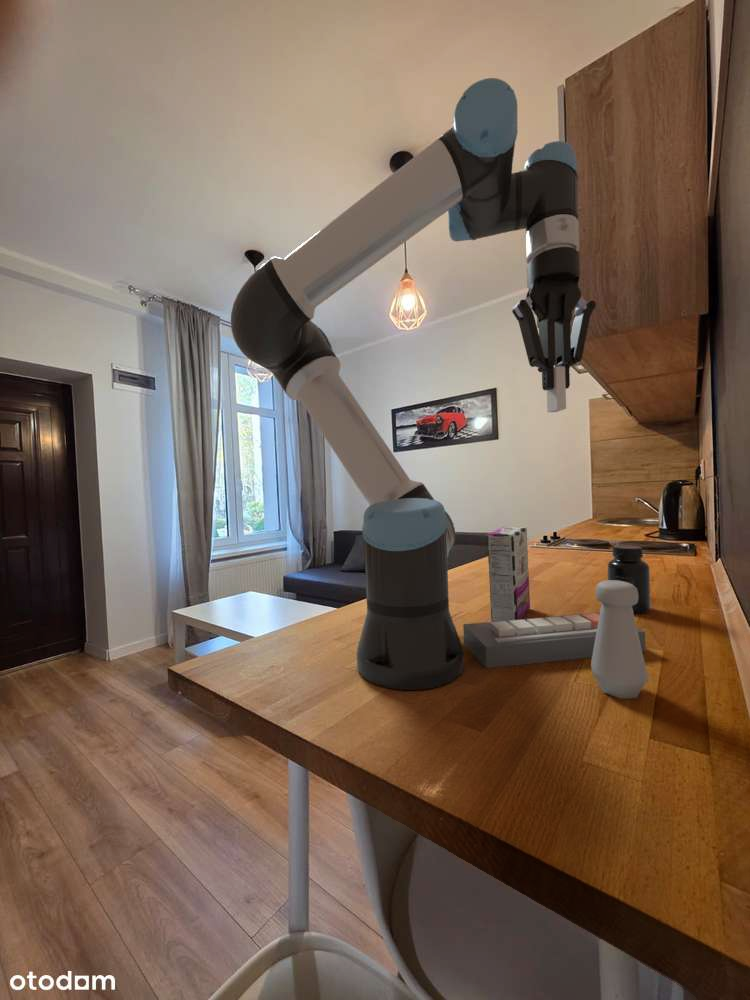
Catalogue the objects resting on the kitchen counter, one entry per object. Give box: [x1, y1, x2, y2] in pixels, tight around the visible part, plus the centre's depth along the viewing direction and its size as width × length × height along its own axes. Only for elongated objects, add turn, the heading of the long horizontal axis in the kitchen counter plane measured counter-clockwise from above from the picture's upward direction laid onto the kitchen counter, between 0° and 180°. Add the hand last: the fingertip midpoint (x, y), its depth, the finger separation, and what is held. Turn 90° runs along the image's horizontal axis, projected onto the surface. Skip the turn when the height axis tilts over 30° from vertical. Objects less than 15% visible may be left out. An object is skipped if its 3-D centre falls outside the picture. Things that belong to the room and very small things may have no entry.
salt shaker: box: [590, 579, 649, 700], centre depth 47 cm, size 6×6×13 cm
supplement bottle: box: [607, 544, 652, 614], centre depth 75 cm, size 7×7×12 cm
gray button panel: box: [462, 611, 646, 669], centre depth 60 cm, size 24×9×4 cm, turn 97°
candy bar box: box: [486, 526, 531, 622], centre depth 74 cm, size 11×5×16 cm, turn 147°
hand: (556, 410), depth 62 cm, fingers closed
